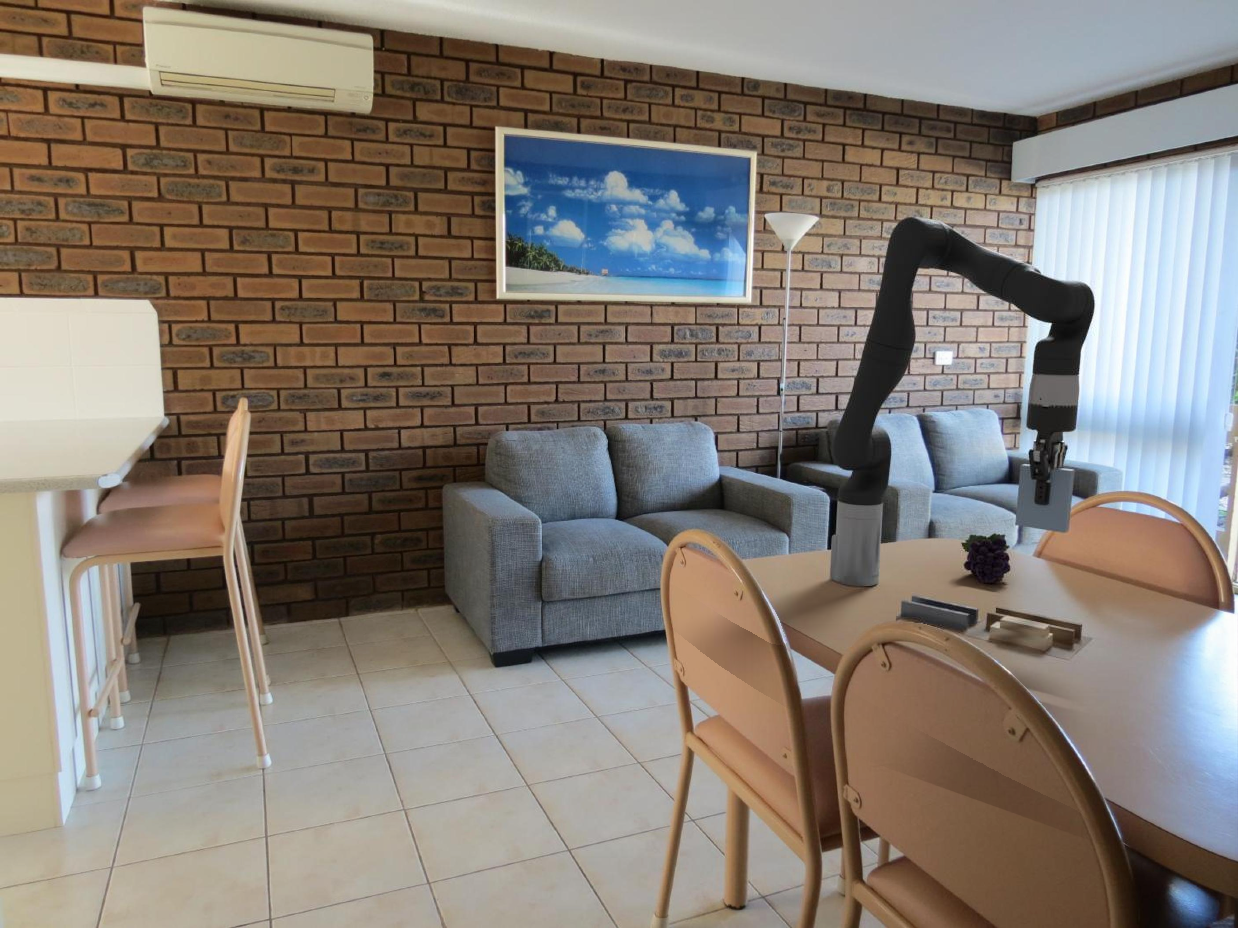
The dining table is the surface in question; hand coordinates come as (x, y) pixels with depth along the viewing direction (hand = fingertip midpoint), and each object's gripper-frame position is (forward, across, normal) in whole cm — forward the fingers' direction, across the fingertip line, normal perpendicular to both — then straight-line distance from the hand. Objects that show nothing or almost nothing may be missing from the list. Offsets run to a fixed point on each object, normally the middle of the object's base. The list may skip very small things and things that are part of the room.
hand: (1043, 503), depth 148 cm
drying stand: (+24, +4, -15) cm, 28 cm away
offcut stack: (+23, +6, 0) cm, 24 cm away
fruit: (+24, -33, -20) cm, 45 cm away
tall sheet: (+4, 0, 0) cm, 4 cm away
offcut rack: (+24, +3, 0) cm, 24 cm away
